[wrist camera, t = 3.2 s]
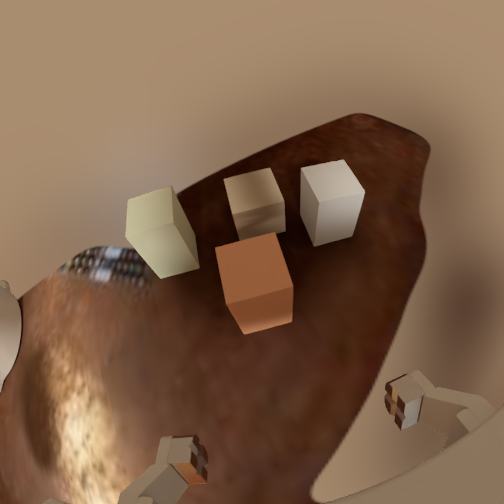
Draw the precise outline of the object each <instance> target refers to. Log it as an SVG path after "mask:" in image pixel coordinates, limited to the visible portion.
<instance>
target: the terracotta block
mask: <svg viewBox="0 0 504 504" xmlns="http://www.w3.org/2000/svg"><path fill="white" fill-rule="evenodd" d="M215 251H216V256H217V261H218V266H219V271H220V276H221V281H222V286H223V291H224V296H225V301H226V305H227V306H228V308H229V310H230V312H231V313H232V315H233V317H234V318H235V320H236V322H237V323H238V325H239V327H240V328H241V330H242V332H243V333H244V334H248V333H252V332H256V331H260V330H264V329H267V328H271V327H275V326H278V325H282V324H286V323H289V322H292V310H293V284H292V281H291V278H290V275H289V272H288V269H287V266H286V263H285V260H284V257H283V254H282V251H281V248H280V245H279V242H278V239H277V237H276V234H275V232H273V233H269V234H265V235H261V236H257V237H253V238H250V239H246V240H242V241H238V242H235V243H231V244H227V245H223V246H219V247H216V248H215Z"/></svg>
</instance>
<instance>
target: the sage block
mask: <svg viewBox="0 0 504 504" xmlns="http://www.w3.org/2000/svg"><path fill="white" fill-rule="evenodd" d="M125 237H126V238H127V240H128V241H129V242H130V243H131V245H132V246H133V247H134V248H135V249H136V251H137V252H138V253H139V254H140V255H141V257H142V258H143V259H144V260H145V261H146V262H147V264H148V265H149V266H150V267H151V268H152V269H153V271H154V272H155V273H156V274H157V275H158V276H159V277H160V279H161V278H165V277H169V276H172V275H176V274H180V273H184V272H188V271H192V270H195V269H199V268H200V266H199V260H198V253H197V246H196V239H195V234H194V232H193V230H192V228H191V225H190V223H189V221H188V219H187V217H186V215H185V213H184V211H183V209H182V207H181V205H180V203H179V201H178V199H177V197H176V194H175V192H174V190H173V188H172V186H168V187H165V188H162V189H159V190H156V191H153V192H150V193H147V194H144V195H141V196H138V197H135V198H132V199H129V200H128V207H127V220H126V236H125Z"/></svg>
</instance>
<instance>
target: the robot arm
mask: <svg viewBox="0 0 504 504" xmlns="http://www.w3.org/2000/svg"><path fill="white" fill-rule="evenodd" d="M20 337H21V312H20V307H19V304H18V301H17V299H16V298H15V297H14V296H13V295H12V294H11V292H10V288H9V284H8V282H6V281H5V280H1V281H0V392H1V389H2V385H3V381H4V379H5V378H6V376H7V375H8V373H9V372H10V370H11V368H12V366H13V364H14V362H15V359H16V356H17V353H18V349H19V344H20ZM385 390H386V391H387V394H386V395H385V405H386V408H387V410H388V412H389V414H390V415H393V416H395V423H396V424H397V425H398V427H399V428H400V430H403V429H405V428H407V427H409V426H411V425H413V424H415V423H417V422H418V424H420V425H423V426H425V427H427V428H430V429H432V430H435V431H437V432H440V433H442V434H445V435H447V436H448V439H447V442H446V444H445V446H444V450H442V451H441V452H439V453H438V454H436V455H434V456H432V457H431V458H429V459H427V460H426V461H424V462H422V463H420V464H418V465H417V466H415V467H413V468H411V469H409V470H407V471H405V472H403V473H401V474H399V475H397V476H395V477H393V478H391V479H388V480H386V481H384V482H382V483H379V484H377V485H375V486H372V487H370V488H367V489H365V490H362V491H359V492H357V493H354V494H351V495H348V496H345V497H343V498H339V499H337V500H333V501H330V502H327V503H323V504H504V404H503V405H502V406H501V407H500V408H499V409H498V410H497V411H496V410H495V409H494V408H493V407H492V406H491V405H490V404H489V403H488V402H487V401H486V400H485V399H484V398H483V397H481V396H479V395H473V394H468V393H463V392H459V391H454V390H449V389H445V388H441V387H438V388H435V387H434V386H433V385H432V384H431V383H430V382H429V380H428V379H427V378H426V377H424V375H423V374H422V373H421V372H420V371H419V370H417V369H415V370H413V371H411V372H409V373H407V374H404V375H402V376H400V377H398V378H396V379H394V380H392V381H390V382H388V383H386V385H385ZM207 464H208V456H207V452H206V449H205V447H204V446H203V445H202V444H200V443H199V438H198V437H197V435H184V436H169V437H162V438H161V440H160V444H159V449H158V453H157V458H156V463H155V464H152V465H151V466H150V467H149V468H148V469H147V470H146V471H145V472H144V473H142V474H141V475H140V476H139V477H138V478H137V479H136V480H135V481H134V482H133V483H132V484H130V485H129V486H128V487H127V488H126V489H125V490H124V491H123V492H121V493H120V497H119V501H118V504H175V503H176V502H177V501H178V499H179V498H180V497H181V495H182V494H183V493H184V491H185V490H186V489H187V487H188V486H189V485H188V484H202V483H207V473H208V471H207V470H206V469H205V466H206V465H207ZM41 504H70V503H67V502H64V501H61V500H58V499H49V500H46V501H44V502H43V503H41Z"/></svg>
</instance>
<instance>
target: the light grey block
mask: <svg viewBox="0 0 504 504" xmlns="http://www.w3.org/2000/svg"><path fill="white" fill-rule="evenodd" d="M364 194H365V191H364V189H363V188H362V186H361V185H360V183H359V182H358V180H357V179H356V177H355V176H354V174H353V173H352V171H351V170H350V168H349V167H348V165H347V164H346V162H345V161H344V160H339V161H334V162H328V163H323V164H318V165H313V166H308V167H303V168H301V195H300V215H301V218H302V220H303V222H304V225H305V227H306V229H307V232H308V234H309V236H310V239H311V241H312V244H313V246H314V247H315V246H319V245H322V244H326V243H330V242H333V241H337V240H340V239H344V238H348V237H351V236H352V235H353V232H354V229H355V226H356V222H357V219H358V215H359V212H360V208H361V205H362V201H363V198H364Z"/></svg>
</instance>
